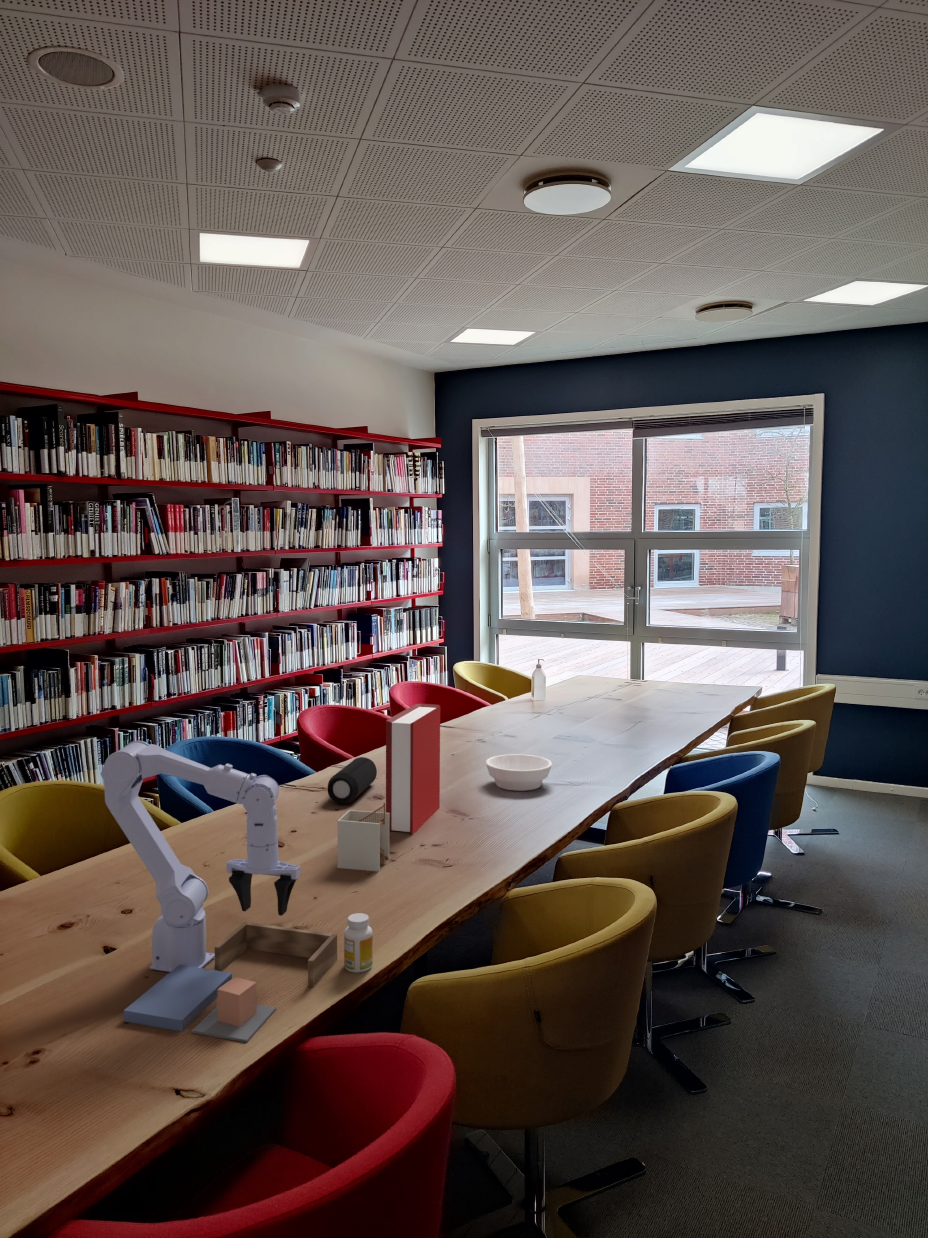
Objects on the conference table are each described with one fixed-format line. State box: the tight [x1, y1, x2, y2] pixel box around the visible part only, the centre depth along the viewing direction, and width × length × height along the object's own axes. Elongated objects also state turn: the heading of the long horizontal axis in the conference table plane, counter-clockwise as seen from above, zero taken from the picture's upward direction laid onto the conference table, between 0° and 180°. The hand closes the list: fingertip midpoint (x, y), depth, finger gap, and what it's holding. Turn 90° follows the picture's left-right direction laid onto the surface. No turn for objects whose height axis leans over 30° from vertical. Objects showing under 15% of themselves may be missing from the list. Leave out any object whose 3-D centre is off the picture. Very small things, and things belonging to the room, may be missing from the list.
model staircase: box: [337, 802, 390, 872], centre depth 212 cm, size 9×11×17 cm
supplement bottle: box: [343, 912, 374, 974], centre depth 160 cm, size 5×5×10 cm
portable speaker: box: [327, 756, 378, 805], centre depth 272 cm, size 26×10×10 cm, turn 169°
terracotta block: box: [217, 976, 257, 1027], centre depth 141 cm, size 4×4×6 cm
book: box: [385, 703, 441, 836], centre depth 247 cm, size 27×8×32 cm, turn 165°
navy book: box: [123, 965, 233, 1032], centre depth 147 cm, size 16×11×2 cm
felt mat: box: [191, 1003, 277, 1043], centre depth 141 cm, size 10×10×1 cm
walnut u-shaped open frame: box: [214, 921, 338, 988], centre depth 160 cm, size 20×11×5 cm, turn 75°
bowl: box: [485, 753, 553, 792], centre depth 284 cm, size 22×22×8 cm
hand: (264, 911), depth 160 cm, fingers open, 7 cm apart
